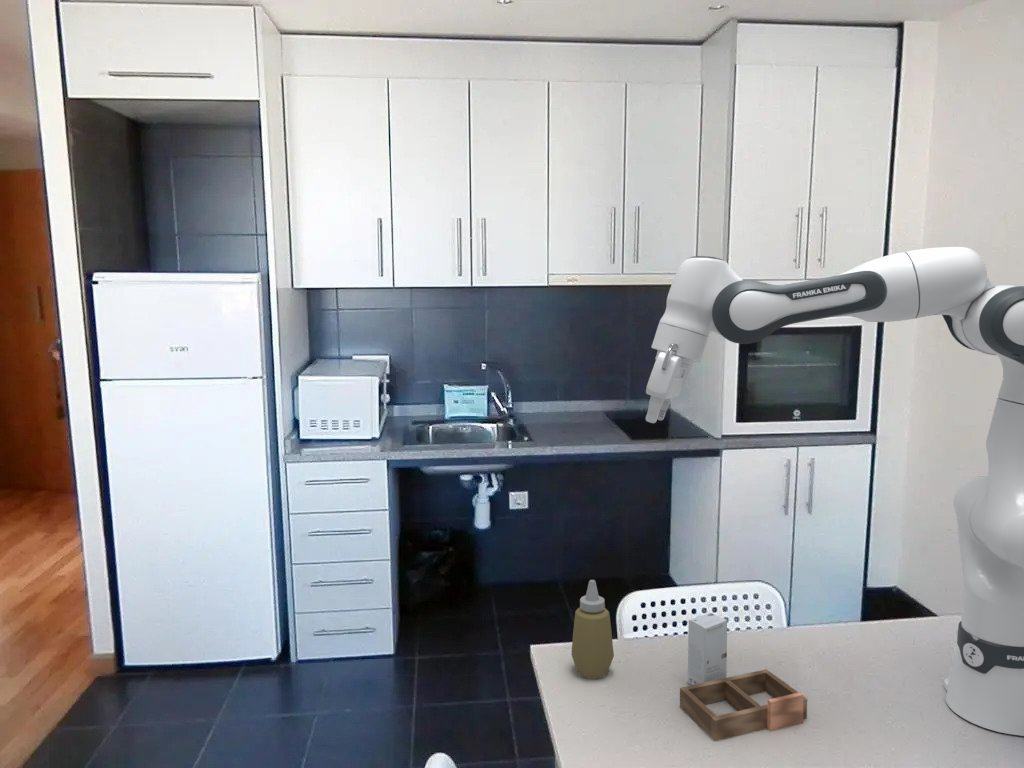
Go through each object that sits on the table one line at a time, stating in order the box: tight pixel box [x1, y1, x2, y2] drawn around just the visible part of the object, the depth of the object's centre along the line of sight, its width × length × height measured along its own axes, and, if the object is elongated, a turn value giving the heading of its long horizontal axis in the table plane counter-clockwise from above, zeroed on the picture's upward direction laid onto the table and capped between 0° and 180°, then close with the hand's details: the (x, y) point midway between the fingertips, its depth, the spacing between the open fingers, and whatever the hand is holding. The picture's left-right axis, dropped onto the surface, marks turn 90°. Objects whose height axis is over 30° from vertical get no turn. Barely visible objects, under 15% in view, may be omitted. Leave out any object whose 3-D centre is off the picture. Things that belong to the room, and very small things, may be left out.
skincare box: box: [687, 612, 728, 686], centre depth 134 cm, size 6×4×12 cm
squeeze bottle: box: [571, 579, 615, 679], centre depth 139 cm, size 8×8×18 cm
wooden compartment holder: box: [679, 668, 808, 742], centre depth 124 cm, size 18×11×5 cm, turn 109°
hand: (654, 420), depth 130 cm, fingers open, 8 cm apart
